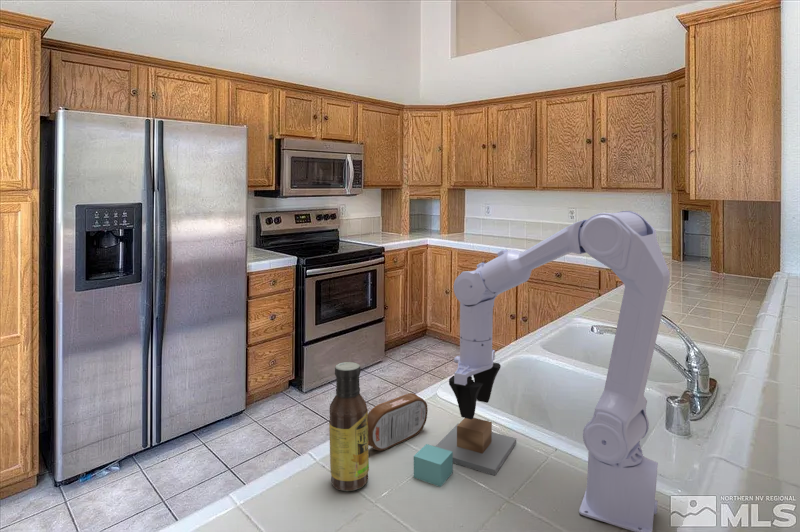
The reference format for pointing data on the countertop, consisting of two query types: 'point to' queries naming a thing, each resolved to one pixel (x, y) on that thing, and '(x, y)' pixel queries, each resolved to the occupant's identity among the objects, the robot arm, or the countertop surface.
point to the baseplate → (479, 461)
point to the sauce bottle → (348, 431)
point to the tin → (396, 421)
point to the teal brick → (433, 465)
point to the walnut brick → (474, 434)
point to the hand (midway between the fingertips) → (475, 409)
